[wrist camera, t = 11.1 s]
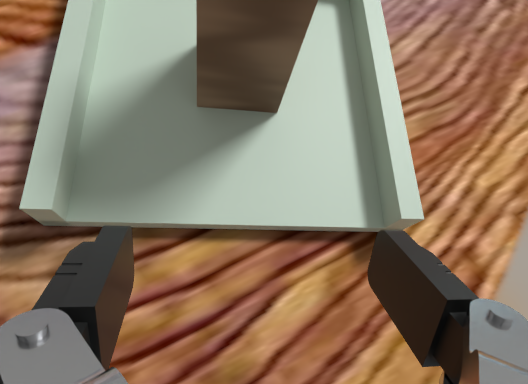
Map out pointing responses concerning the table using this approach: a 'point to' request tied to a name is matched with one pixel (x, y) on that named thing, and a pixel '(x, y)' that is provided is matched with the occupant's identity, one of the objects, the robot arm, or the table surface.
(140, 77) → the tray
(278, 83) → the block
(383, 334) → the table surface
